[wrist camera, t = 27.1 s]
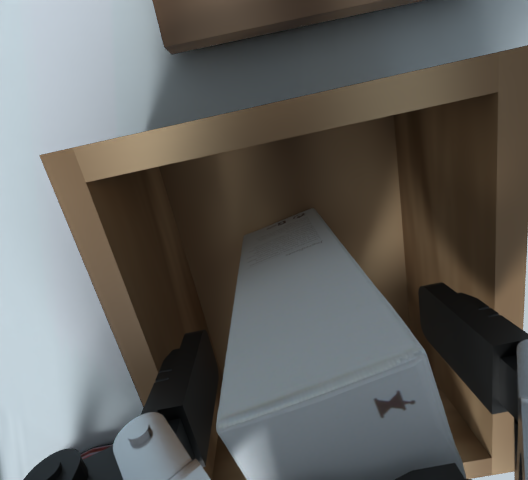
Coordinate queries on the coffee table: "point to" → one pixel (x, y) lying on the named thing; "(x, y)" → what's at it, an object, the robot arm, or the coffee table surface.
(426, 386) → the skincare box
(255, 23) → the lid
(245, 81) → the coffee table surface
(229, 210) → the open wooden box
